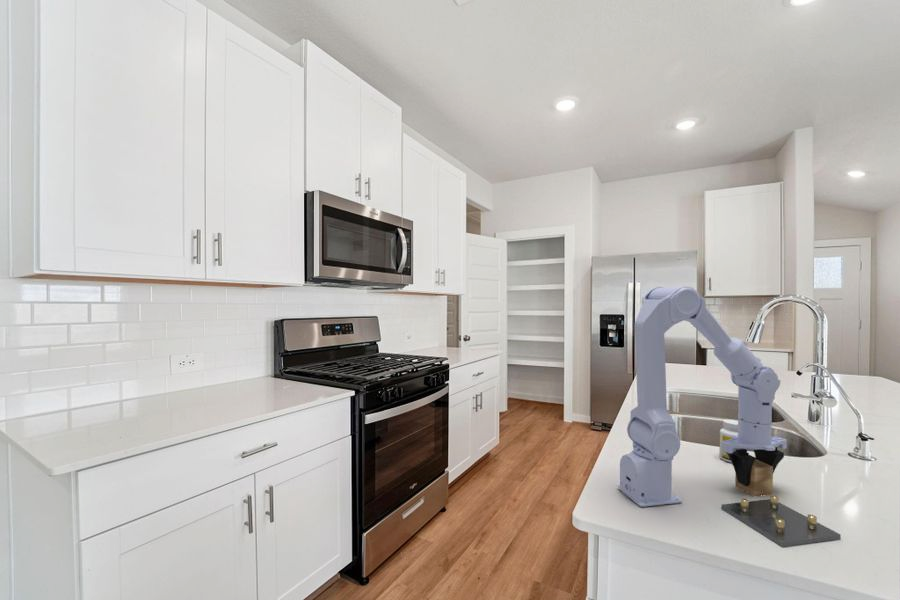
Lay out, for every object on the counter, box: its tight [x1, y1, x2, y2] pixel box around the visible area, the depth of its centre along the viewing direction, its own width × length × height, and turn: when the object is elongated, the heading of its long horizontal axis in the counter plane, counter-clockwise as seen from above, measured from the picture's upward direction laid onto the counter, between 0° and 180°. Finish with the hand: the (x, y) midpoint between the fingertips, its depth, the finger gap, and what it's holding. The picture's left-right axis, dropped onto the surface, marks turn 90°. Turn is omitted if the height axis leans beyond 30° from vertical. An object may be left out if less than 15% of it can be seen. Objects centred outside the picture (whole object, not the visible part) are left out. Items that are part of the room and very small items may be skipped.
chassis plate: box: [720, 495, 842, 548], centre depth 73 cm, size 12×12×3 cm
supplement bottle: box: [718, 419, 738, 464], centre depth 100 cm, size 5×5×10 cm
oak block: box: [734, 459, 774, 497], centre depth 85 cm, size 4×4×6 cm
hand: (753, 482), depth 85 cm, fingers open, 5 cm apart
